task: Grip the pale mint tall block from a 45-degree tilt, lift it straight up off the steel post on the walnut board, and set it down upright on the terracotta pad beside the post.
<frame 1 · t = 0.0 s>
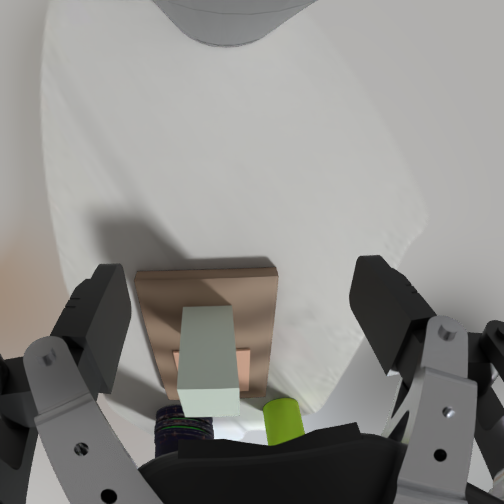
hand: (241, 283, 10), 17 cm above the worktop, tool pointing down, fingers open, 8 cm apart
pale mint tall block: (208, 323, 33), point 1 cm above the worktop, touching walnut board
terracotta pad: (213, 363, 39), resting on walnut board
lime green stepped cylinder: (279, 407, 48), on the worktop
dark blue ridged cylinder: (184, 417, 47), on the worktop
walnut board: (211, 343, 37), on the worktop
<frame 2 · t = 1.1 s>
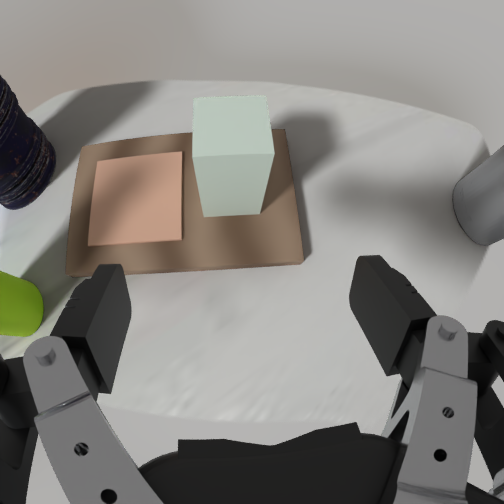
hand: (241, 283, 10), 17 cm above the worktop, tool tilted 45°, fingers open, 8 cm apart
pale mint tall block: (230, 190, 29), point 1 cm above the worktop, touching walnut board
terracotta pad: (139, 203, 29), resting on walnut board
lime green stepped cylinder: (20, 307, 26), on the worktop
dark blue ridged cylinder: (25, 173, 30), on the worktop
walnut board: (178, 200, 30), on the worktop
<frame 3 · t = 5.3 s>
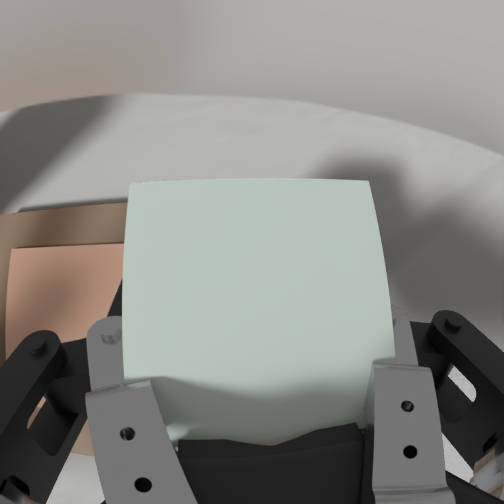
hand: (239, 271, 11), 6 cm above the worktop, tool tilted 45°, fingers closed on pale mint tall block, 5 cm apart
pale mint tall block: (237, 330, 15), point 2 cm above the worktop, touching gripper, walnut board
terracotta pad: (79, 331, 16), resting on walnut board
walnut board: (144, 333, 16), on the worktop
when the fingers open (8 cm above the worktop, at t = 11.9 s): pale mint tall block drops 1 cm, resting on terracotta pad.
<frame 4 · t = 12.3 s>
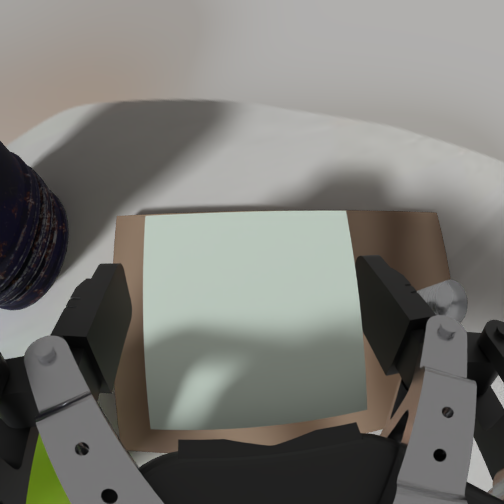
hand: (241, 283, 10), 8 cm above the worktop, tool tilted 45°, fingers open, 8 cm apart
pale mint tall block: (236, 332, 16), point 2 cm above the worktop, touching terracotta pad
steel post: (374, 320, 19), resting on walnut board
lime green stepped cylinder: (46, 464, 14), on the worktop
dark blue ridged cylinder: (18, 245, 18), on the worktop
walnut board: (301, 328, 19), on the worktop
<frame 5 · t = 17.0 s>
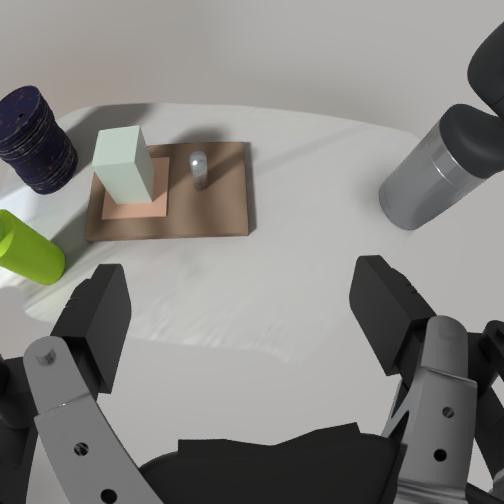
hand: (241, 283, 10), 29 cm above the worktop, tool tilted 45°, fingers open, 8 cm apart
pale mint tall block: (135, 187, 40), point 2 cm above the worktop, touching terracotta pad
terracotta pad: (138, 192, 42), resting on walnut board
steel post: (201, 189, 43), resting on walnut board
lime green stepped cylinder: (46, 264, 38), on the worktop
dark blue ridged cylinder: (53, 168, 42), on the worktop
walnut board: (166, 191, 42), on the worktop
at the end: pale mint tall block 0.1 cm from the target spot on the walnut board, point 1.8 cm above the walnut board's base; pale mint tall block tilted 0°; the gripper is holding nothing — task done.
